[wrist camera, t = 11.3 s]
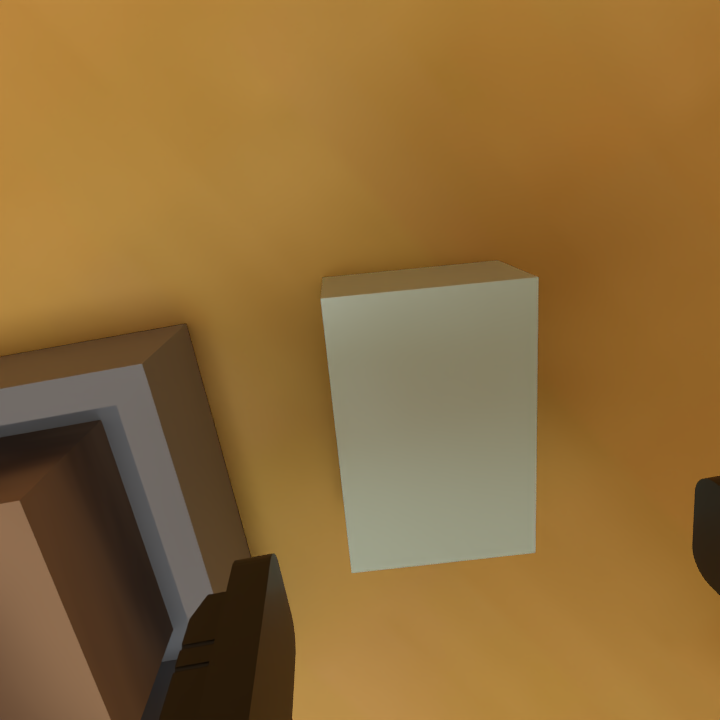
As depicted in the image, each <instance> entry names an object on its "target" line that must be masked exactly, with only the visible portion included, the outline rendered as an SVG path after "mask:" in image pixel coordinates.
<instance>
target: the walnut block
mask: <svg viewBox="0 0 720 720" xmlns="http://www.w3.org/2000/svg"><path fill="white" fill-rule="evenodd" d="M172 632H173V627H172V624H171V621H170V618H169V615H168V612H167V609H166V606H165V603H164V601H163V598H162V595H161V592H160V589H159V586H158V583H157V580H156V577H155V574H154V572H153V569H152V566H151V563H150V560H149V557H148V554H147V551H146V548H145V545H144V543H143V540H142V537H141V534H140V531H139V528H138V525H137V522H136V519H135V517H134V514H133V511H132V508H131V505H130V502H129V499H128V496H127V493H126V490H125V488H124V485H123V482H122V479H121V476H120V473H119V470H118V467H117V464H116V461H115V459H114V456H113V453H112V450H111V447H110V444H109V441H108V438H107V435H106V432H105V430H104V427H103V424H102V421H101V420H97V421H91V422H85V423H80V424H74V425H68V426H63V427H57V428H52V429H46V430H40V431H35V432H29V433H23V434H18V435H12V436H6V437H1V438H0V720H141V717H142V715H143V712H144V709H145V706H146V704H147V701H148V698H149V695H150V692H151V690H152V687H153V684H154V681H155V679H156V676H157V673H158V670H159V668H160V665H161V662H162V659H163V656H164V654H165V651H166V648H167V645H168V643H169V640H170V637H171V634H172Z"/></svg>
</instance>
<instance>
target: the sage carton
mask: <svg viewBox="0 0 720 720" xmlns="http://www.w3.org/2000/svg"><path fill="white" fill-rule="evenodd" d="M538 280H539V277H537V276H535V275H532V274H530V273H528V272H525V271H523V270H520V269H518V268H515V267H513V266H511V265H508V264H506V263H503V262H501V261H499V260H495V261H485V262H475V263H465V264H454V265H444V266H434V267H424V268H413V269H403V270H393V271H383V272H373V273H362V274H352V275H342V276H332V277H322V288H321V307H322V316H323V325H324V334H325V342H326V351H327V360H328V369H329V378H330V386H331V395H332V404H333V413H334V422H335V430H336V439H337V448H338V457H339V465H340V474H341V483H342V492H343V501H344V509H345V518H346V527H347V536H348V545H349V553H350V562H351V571H352V573H357V572H366V571H375V570H384V569H393V568H402V567H411V566H420V565H430V564H439V563H448V562H457V561H466V560H475V559H484V558H493V557H502V556H511V555H520V554H529V553H535V550H536V460H537V370H538Z"/></svg>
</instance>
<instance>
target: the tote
mask: <svg viewBox="0 0 720 720" xmlns="http://www.w3.org/2000/svg"><path fill="white" fill-rule="evenodd" d="M97 420H101V421H102V424H103V427H104V430H105V432H106V435H107V438H108V441H109V444H110V447H111V450H112V453H113V456H114V459H115V461H116V464H117V467H118V470H119V473H120V476H121V479H122V482H123V485H124V488H125V490H126V493H127V496H128V499H129V502H130V505H131V508H132V511H133V514H134V517H135V519H136V522H137V525H138V528H139V531H140V534H141V537H142V540H143V543H144V545H145V548H146V551H147V554H148V557H149V560H150V563H151V566H152V569H153V572H154V574H155V577H156V580H157V583H158V586H159V589H160V592H161V595H162V598H163V601H164V603H165V606H166V609H167V612H168V615H169V618H170V621H171V624H172V627H173V632H172V634H171V637H170V640H169V643H168V645H167V648H166V651H165V654H164V656H163V659H162V662H161V665H160V668H159V670H158V673H157V676H156V679H155V681H154V684H153V687H152V690H151V692H150V695H149V698H148V701H147V704H146V706H145V709H144V712H143V715H142V717H141V720H159V717H160V714H161V711H162V707H163V704H164V701H165V698H166V694H167V691H168V688H169V684H170V681H171V678H172V675H173V673H175V665H176V662H177V658H178V655H179V652H180V650H182V642H183V639H184V635H185V632H186V629H187V625H188V622H189V619H190V618H191V616H192V615H193V614H194V612H195V611H196V610H197V608H198V607H199V606H200V604H201V603H202V602H203V600H204V599H205V598H206V596H207V595H209V594H214V593H220V592H226V589H227V585H228V581H229V577H230V572H231V568H232V564H233V562H234V561H235V560H240V559H245V558H251V556H250V552H249V548H248V545H247V541H246V538H245V534H244V530H243V527H242V523H241V519H240V516H239V512H238V509H237V505H236V501H235V498H234V494H233V491H232V487H231V483H230V480H229V476H228V473H227V469H226V465H225V462H224V458H223V455H222V451H221V447H220V444H219V440H218V436H217V433H216V429H215V426H214V422H213V418H212V415H211V411H210V408H209V404H208V400H207V397H206V393H205V390H204V386H203V382H202V379H201V375H200V371H199V368H198V364H197V361H196V357H195V353H194V350H193V346H192V343H191V339H190V335H189V332H188V328H187V325H186V324H181V325H175V326H170V327H164V328H158V329H153V330H147V331H142V332H136V333H130V334H125V335H119V336H114V337H108V338H102V339H97V340H91V341H86V342H80V343H74V344H69V345H63V346H58V347H52V348H46V349H41V350H35V351H29V352H24V353H18V354H13V355H7V356H1V357H0V438H1V437H6V436H12V435H18V434H23V433H29V432H35V431H40V430H46V429H52V428H57V427H63V426H68V425H74V424H80V423H85V422H91V421H97Z"/></svg>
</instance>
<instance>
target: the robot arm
mask: <svg viewBox="0 0 720 720" xmlns="http://www.w3.org/2000/svg"><path fill="white" fill-rule="evenodd" d="M692 546H693V555H694V559H695V562H696V564H697V567H698V569H699V571H700V573H701V574H702V576H703V577H704V579H705V580H706V581H707V583H708V584H709V585H710V586H711V587H712V588H713V589H714V590H715V591H716V592H717V593H718V594H719V595H720V476H716V477H711V478H705V479H701V480H700V481H699V482H698V483H697V485H696V488H695V503H694V524H693V544H692ZM295 653H296V649H295V633H294V625H293V620H292V615H291V611H290V607H289V603H288V599H287V595H286V591H285V587H284V583H283V579H282V575H281V571H280V567H279V563H278V560H277V557H276V555H275V554H268V555H262V556H257V557H251V558H245V559H240V560H235V561H234V562H233V564H232V568H231V572H230V577H229V581H228V585H227V589H226V592H220V593H214V594H209V595H207V596H206V598H205V599H204V600H203V602H202V603H201V604H200V606H199V607H198V608H197V610H196V611H195V612H194V614H193V615H192V616H191V618H190V619H189V622H188V625H187V629H186V632H185V635H184V639H183V642H182V650H180V652H179V655H178V658H177V662H176V665H175V673H173V675H172V678H171V681H170V684H169V688H168V691H167V694H166V698H165V701H164V704H163V707H162V711H161V714H160V717H159V720H292V708H293V690H294V672H295Z"/></svg>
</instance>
